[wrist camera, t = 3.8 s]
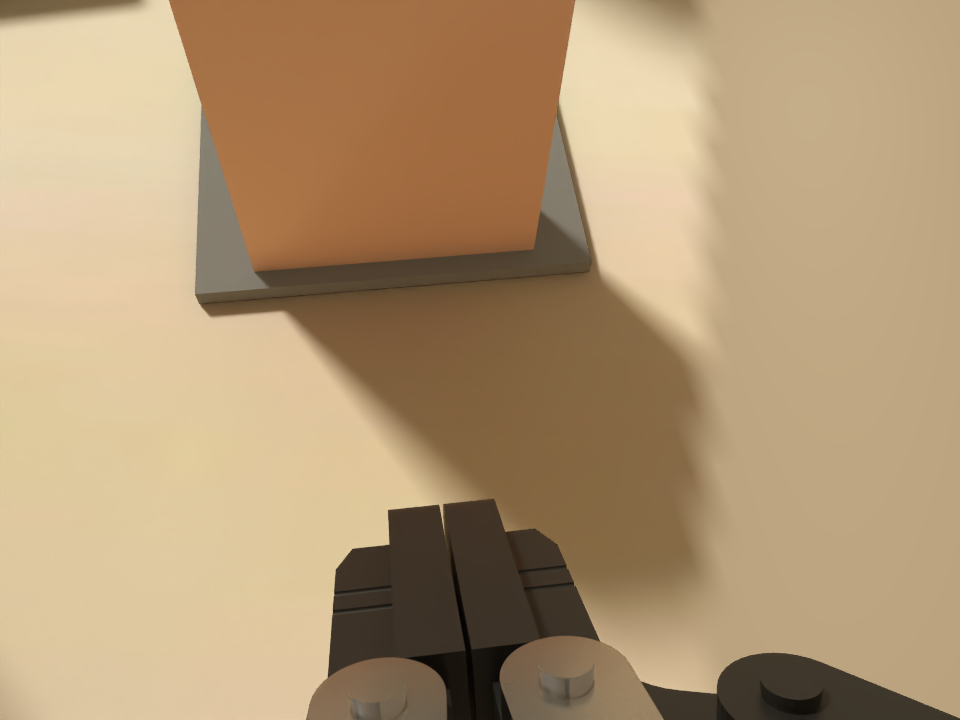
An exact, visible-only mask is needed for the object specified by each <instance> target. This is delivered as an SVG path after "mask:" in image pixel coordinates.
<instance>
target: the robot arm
mask: <svg viewBox="0 0 960 720" xmlns="http://www.w3.org/2000/svg"><path fill="white" fill-rule="evenodd" d="M443 519H444V529H443V524H442V518H441V513H440V507H439V505H432V506H422V507H413V508H404V509H394V510H388V520H389V541H390V545H384V546H375V547H365V548H356V549H352V550H351V552H350V553H349V554H348V555H347V557H346V558H345V559H344V560H343V562H342V563H341V564H340V565H339V566H338V568H337V569H336V575H335V589H334V595H335V596H334V602H333V615H332V629H331V642H330V655H329V669H328V678H327V679H326V680H325V681H324V682H323V683H322V684H321V685H320V686H319V687H318V688H317V690H316V691H315V693H314V694H313V696H312V699H311V702H310V704H309V709H308V714H307V718H306V720H960V718H957V717H955V716H952V715H950V714H948V713H945V712H943V711H940V710H938V709H935V708H933V707H930V706H928V705H925V704H923V703H920V702H918V701H915V700H913V699H911V698H908V697H906V696H903V695H901V694H898V693H896V692H893V691H891V690H888V689H886V688H883V687H881V686H878V685H876V684H873V683H871V682H868V681H866V680H864V679H861V678H858V677H856V676H854V675H851V674H849V673H846V672H844V671H841V670H839V669H836V668H834V667H831V666H829V665H827V664H824V663H821V662H819V661H816V660H813V659H810V658H806V657H802V656H798V655H792V654H785V653H764V654H763V653H762V654H756V655H750V656H747V657H744V658H741V659H739V660H737V661H735V662H733V663H731V664H730V665H729V666H727V667H726V668H725V669H724V671H723V672H722V673H721V675H720V677H719V679H718V684H717V694H711V693H701V692H690V691H679V690H672V689H665V688H661V687H657V686H653V685H650V684H647V683H644V682H641V681H640V680H639V678H638V676H637V675H636V673H635V671H634V670H633V668H632V666H631V665H630V663H629V662H628V661H627V659H626V658H625V657H624V656H623V655H622V654H621V653H620V652H618V651H617V650H615V649H614V648H612V647H611V646H609V645H606V644H604V643H602V642H600V640H599V638H598V636H597V634H596V631H595V629H594V627H593V624H592V622H591V620H590V618H589V615H588V613H587V611H586V609H585V606H584V604H583V602H582V600H581V597H580V595H579V593H578V591H577V588H576V586H575V587H574V581H573V579H572V577H571V575H570V572H569V570H568V569H567V568H566V563H565V561H564V559H563V557H562V554H561V552H560V550H559V548H558V545H557V544H556V543H554V542H553V541H551V540H550V539H549V538H547V537H546V536H544V535H543V534H541V533H540V532H539V531H537V530H536V529H528V530H519V531H510V532H505V530H504V527H503V524H502V521H501V518H500V515H499V512H498V509H497V506H496V503H495V500H494V499H487V500H478V501H468V502H459V503H449V504H443ZM444 533H445V535H444Z"/></svg>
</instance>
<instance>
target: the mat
mask: <svg viewBox="0 0 960 720" xmlns="http://www.w3.org/2000/svg"><path fill="white" fill-rule="evenodd" d="M590 266H591V257H590V253H589V249H588V245H587V241H586V236H585V232H584V228H583V224H582V220H581V215H580V211H579V207H578V203H577V199H576V194H575V190H574V186H573V182H572V178H571V173H570V169H569V165H568V161H567V157H566V152H565V148H564V144H563V140H562V136H561V131H560V127H559V123H558V119H557V115H556V119H555V125H554V131H553V137H552V143H551V149H550V155H549V161H548V167H547V173H546V179H545V185H544V191H543V197H542V203H541V209H540V215H539V221H538V227H537V233H536V239H535V246H534V250H522V251H509V252H496V253H484V254H471V255H459V256H446V257H434V258H421V259H408V260H396V261H383V262H371V263H358V264H345V265H333V266H320V267H308V268H295V269H282V270H270V271H257V272H254V270H253V267H252V264H251V261H250V257H249V254H248V251H247V248H246V245H245V241H244V238H243V235H242V232H241V229H240V225H239V222H238V219H237V216H236V213H235V209H234V206H233V203H232V200H231V197H230V194H229V190H228V187H227V184H226V181H225V178H224V174H223V171H222V168H221V165H220V162H219V158H218V155H217V152H216V149H215V146H214V142H213V139H212V136H211V133H210V130H209V126H208V123H207V120H206V117H205V114H204V110H203V107H202V110H201V139H200V168H199V196H198V225H197V254H196V282H195V295H196V297H197V300H198V302H199V304H202V303H214V302H226V301H238V300H250V299H262V298H275V297H287V296H299V295H311V294H323V293H335V292H347V291H359V290H371V289H383V288H396V287H408V286H420V285H432V284H444V283H456V282H468V281H480V280H492V279H504V278H517V277H529V276H541V275H553V274H565V273H577V272H589V270H590Z"/></svg>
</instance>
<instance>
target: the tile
mask: <svg viewBox="0 0 960 720" xmlns="http://www.w3.org/2000/svg"><path fill="white" fill-rule="evenodd" d="M169 2H170V5H171V8H172V11H173V15H174V18H175V21H176V24H177V27H178V31H179V34H180V37H181V40H182V43H183V47H184V50H185V53H186V56H187V59H188V63H189V66H190V69H191V72H192V75H193V79H194V82H195V85H196V88H197V91H198V95H199V98H200V101H201V104H202V107H203V110H204V114H205V117H206V120H207V123H208V126H209V130H210V133H211V136H212V139H213V142H214V146H215V149H216V152H217V155H218V158H219V162H220V165H221V168H222V171H223V174H224V178H225V181H226V184H227V187H228V190H229V194H230V197H231V200H232V203H233V206H234V209H235V213H236V216H237V219H238V222H239V225H240V229H241V232H242V235H243V238H244V241H245V245H246V248H247V251H248V254H249V257H250V261H251V264H252V267H253V270H254V272H257V271H270V270H282V269H295V268H308V267H320V266H333V265H345V264H358V263H371V262H383V261H396V260H408V259H421V258H434V257H446V256H459V255H471V254H484V253H496V252H509V251H522V250H534V246H535V239H536V233H537V227H538V221H539V215H540V209H541V203H542V197H543V191H544V185H545V179H546V173H547V167H548V161H549V155H550V149H551V143H552V137H553V131H554V125H555V119H556V113H557V107H558V101H559V95H560V89H561V83H562V77H563V71H564V64H565V58H566V52H567V46H568V40H569V34H570V28H571V22H572V16H573V10H574V4H575V0H169Z"/></svg>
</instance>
